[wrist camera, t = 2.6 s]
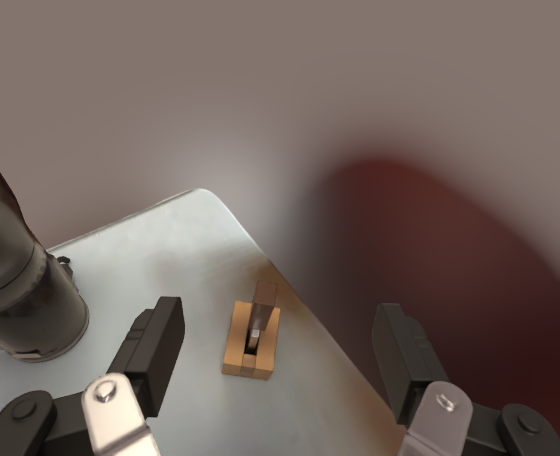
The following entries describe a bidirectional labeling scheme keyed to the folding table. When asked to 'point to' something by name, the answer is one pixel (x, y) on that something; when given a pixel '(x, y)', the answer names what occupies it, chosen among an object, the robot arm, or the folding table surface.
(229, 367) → the knife stand
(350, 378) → the folding table surface
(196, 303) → the folding table surface
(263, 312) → the knife
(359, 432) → the folding table surface
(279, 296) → the folding table surface
